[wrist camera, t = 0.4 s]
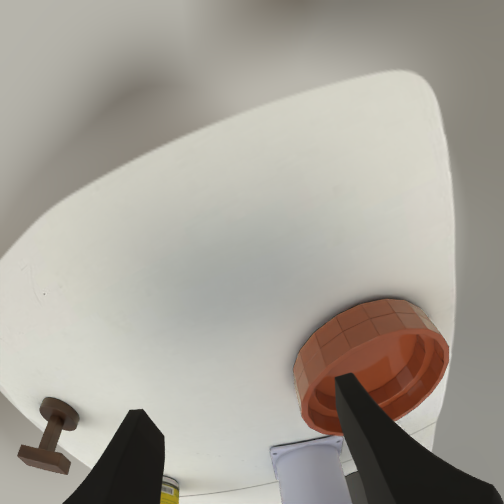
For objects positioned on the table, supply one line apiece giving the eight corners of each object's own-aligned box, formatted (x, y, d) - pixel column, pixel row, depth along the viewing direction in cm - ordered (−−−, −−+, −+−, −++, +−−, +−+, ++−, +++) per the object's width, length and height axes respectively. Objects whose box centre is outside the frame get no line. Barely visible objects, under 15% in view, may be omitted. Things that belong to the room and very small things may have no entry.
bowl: (412, 382, 26) (428, 411, 23) (295, 412, 26) (302, 447, 23) (437, 281, 21) (466, 310, 17) (287, 312, 21) (298, 352, 17)
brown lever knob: (90, 424, 26) (75, 481, 19) (52, 420, 26) (34, 471, 19) (70, 398, 24) (49, 459, 18) (32, 395, 24) (8, 448, 18)
